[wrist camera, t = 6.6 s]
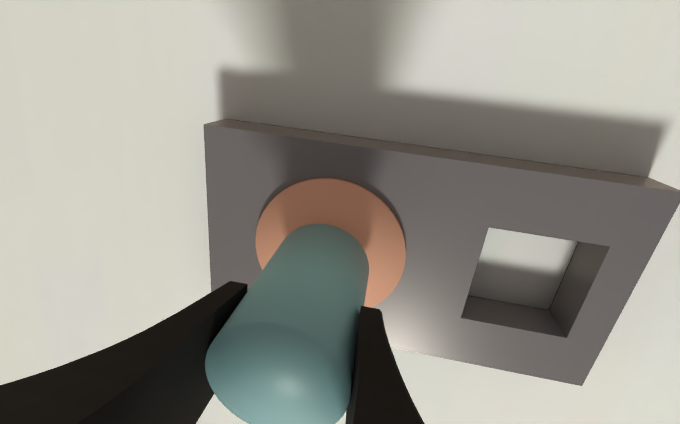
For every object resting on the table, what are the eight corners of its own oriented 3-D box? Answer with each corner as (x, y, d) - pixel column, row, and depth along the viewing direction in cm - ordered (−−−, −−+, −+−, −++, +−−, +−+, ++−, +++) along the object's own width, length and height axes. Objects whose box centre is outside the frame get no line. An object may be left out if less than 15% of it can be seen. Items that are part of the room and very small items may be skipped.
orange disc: (316, 144, 14) (314, 145, 14) (439, 248, 15) (439, 251, 15) (231, 251, 17) (228, 254, 17) (339, 334, 18) (338, 338, 17)
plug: (314, 204, 14) (256, 292, 8) (389, 266, 14) (383, 389, 9) (260, 266, 15) (180, 376, 10) (329, 320, 16) (291, 454, 10)
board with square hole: (648, 177, 14) (685, 192, 13) (563, 354, 18) (581, 386, 16) (225, 118, 16) (203, 124, 15) (229, 290, 20) (212, 311, 18)
